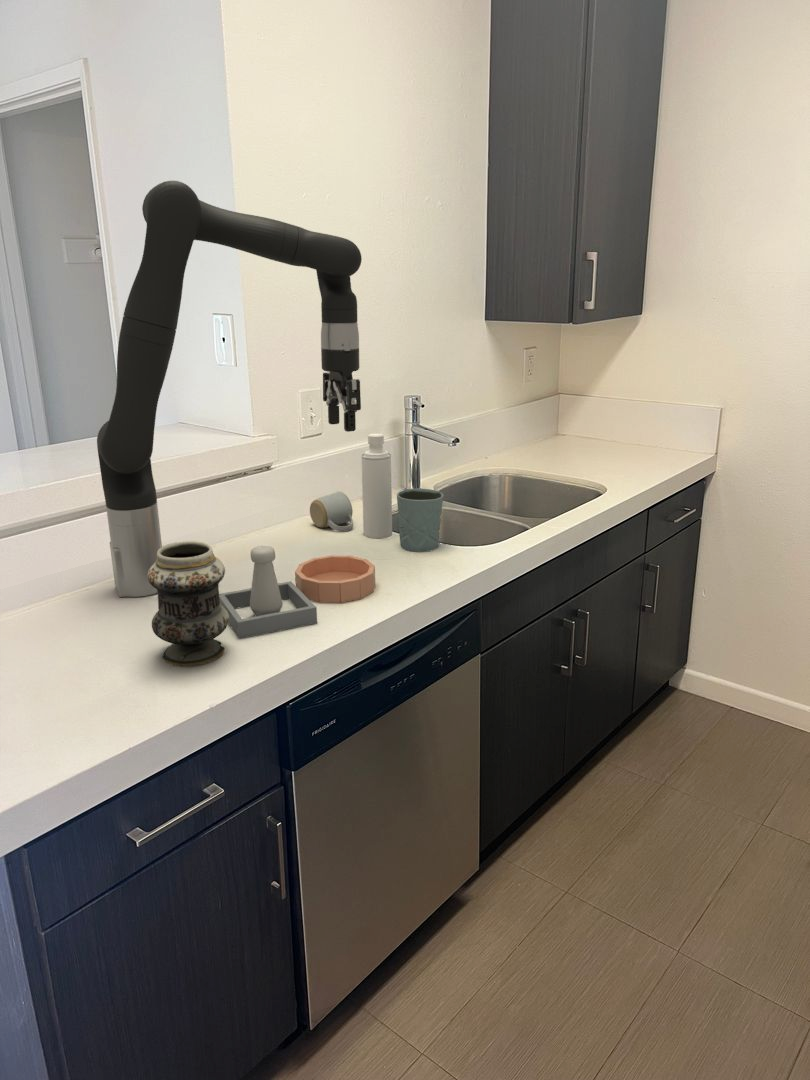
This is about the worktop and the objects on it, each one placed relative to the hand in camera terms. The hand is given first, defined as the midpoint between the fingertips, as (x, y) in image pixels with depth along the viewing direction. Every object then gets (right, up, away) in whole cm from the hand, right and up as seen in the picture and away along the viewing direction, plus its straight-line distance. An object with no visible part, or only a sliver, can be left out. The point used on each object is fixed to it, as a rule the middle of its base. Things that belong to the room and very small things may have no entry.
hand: (341, 427), depth 168 cm
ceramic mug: (-4, -20, +31) cm, 37 cm away
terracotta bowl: (-1, -32, -7) cm, 33 cm away
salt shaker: (-12, -37, -20) cm, 44 cm away
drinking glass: (+16, -24, +16) cm, 34 cm away
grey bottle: (+7, -22, +24) cm, 33 cm away
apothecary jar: (-21, -42, -34) cm, 58 cm away
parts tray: (-12, -37, -20) cm, 43 cm away
